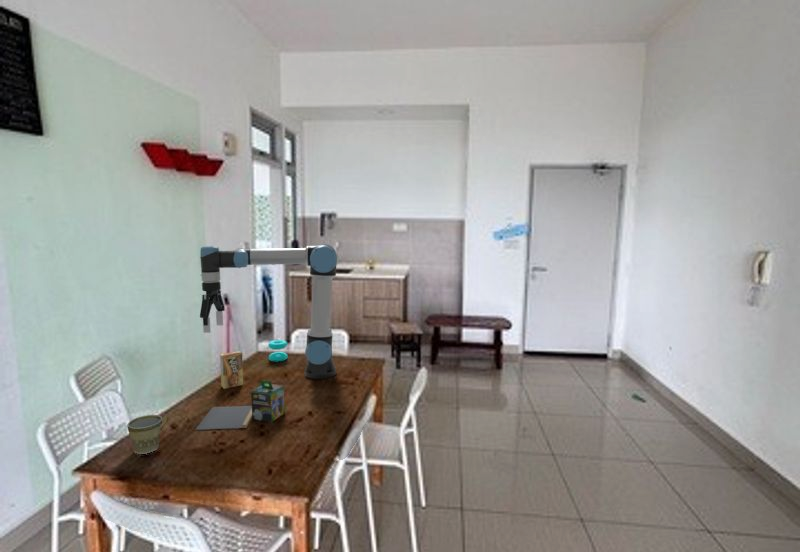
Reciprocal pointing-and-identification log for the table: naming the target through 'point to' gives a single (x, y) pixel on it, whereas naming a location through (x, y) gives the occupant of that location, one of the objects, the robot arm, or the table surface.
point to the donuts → (276, 346)
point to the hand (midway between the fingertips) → (213, 328)
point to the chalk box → (267, 402)
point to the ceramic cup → (145, 433)
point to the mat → (227, 418)
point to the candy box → (231, 369)
